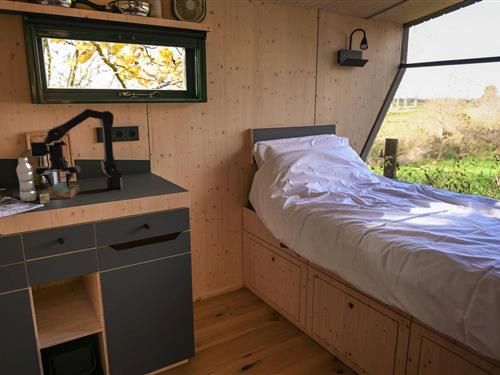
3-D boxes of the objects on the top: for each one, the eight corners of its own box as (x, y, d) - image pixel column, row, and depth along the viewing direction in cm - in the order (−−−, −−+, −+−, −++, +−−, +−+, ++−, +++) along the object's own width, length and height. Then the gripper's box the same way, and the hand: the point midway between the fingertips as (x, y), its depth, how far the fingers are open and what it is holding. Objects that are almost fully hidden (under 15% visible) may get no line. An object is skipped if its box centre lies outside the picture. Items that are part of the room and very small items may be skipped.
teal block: (68, 192, 182) (67, 182, 181) (65, 195, 177) (63, 185, 176) (57, 193, 181) (56, 183, 180) (53, 195, 177) (52, 185, 175)
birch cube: (49, 201, 170) (48, 193, 169) (49, 202, 167) (48, 195, 166) (40, 201, 168) (39, 194, 167) (40, 203, 165) (39, 196, 164)
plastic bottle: (24, 199, 172) (18, 156, 168) (40, 199, 173) (34, 156, 168) (17, 203, 166) (10, 158, 161) (33, 202, 166) (27, 158, 162)
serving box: (79, 191, 187) (78, 185, 186) (71, 198, 174) (70, 191, 173) (52, 192, 185) (51, 185, 184) (41, 199, 172) (40, 192, 172)
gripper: (82, 152, 184) (85, 183, 188) (42, 153, 182) (46, 184, 185) (75, 155, 173) (78, 188, 177) (32, 156, 171) (37, 189, 174)
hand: (60, 187), depth 179 cm, fingers open, 7 cm apart
